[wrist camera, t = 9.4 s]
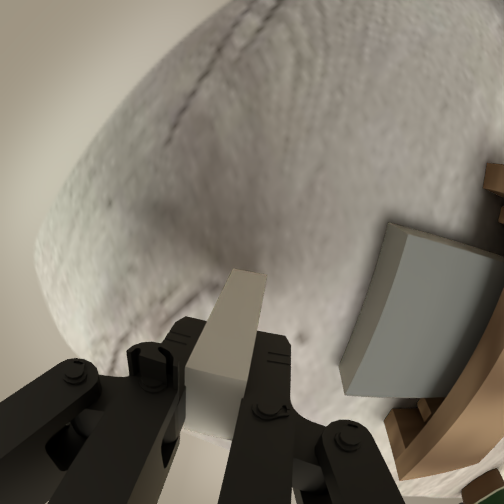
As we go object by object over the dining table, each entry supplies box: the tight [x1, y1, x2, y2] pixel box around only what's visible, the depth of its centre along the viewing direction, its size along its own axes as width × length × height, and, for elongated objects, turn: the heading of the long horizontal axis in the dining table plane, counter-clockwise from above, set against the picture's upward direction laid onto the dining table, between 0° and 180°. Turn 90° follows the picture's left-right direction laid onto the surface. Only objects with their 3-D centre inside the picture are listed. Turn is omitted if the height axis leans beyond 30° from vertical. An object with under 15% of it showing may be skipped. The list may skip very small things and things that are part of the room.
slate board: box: [339, 222, 504, 398], centre depth 13 cm, size 9×11×3 cm
